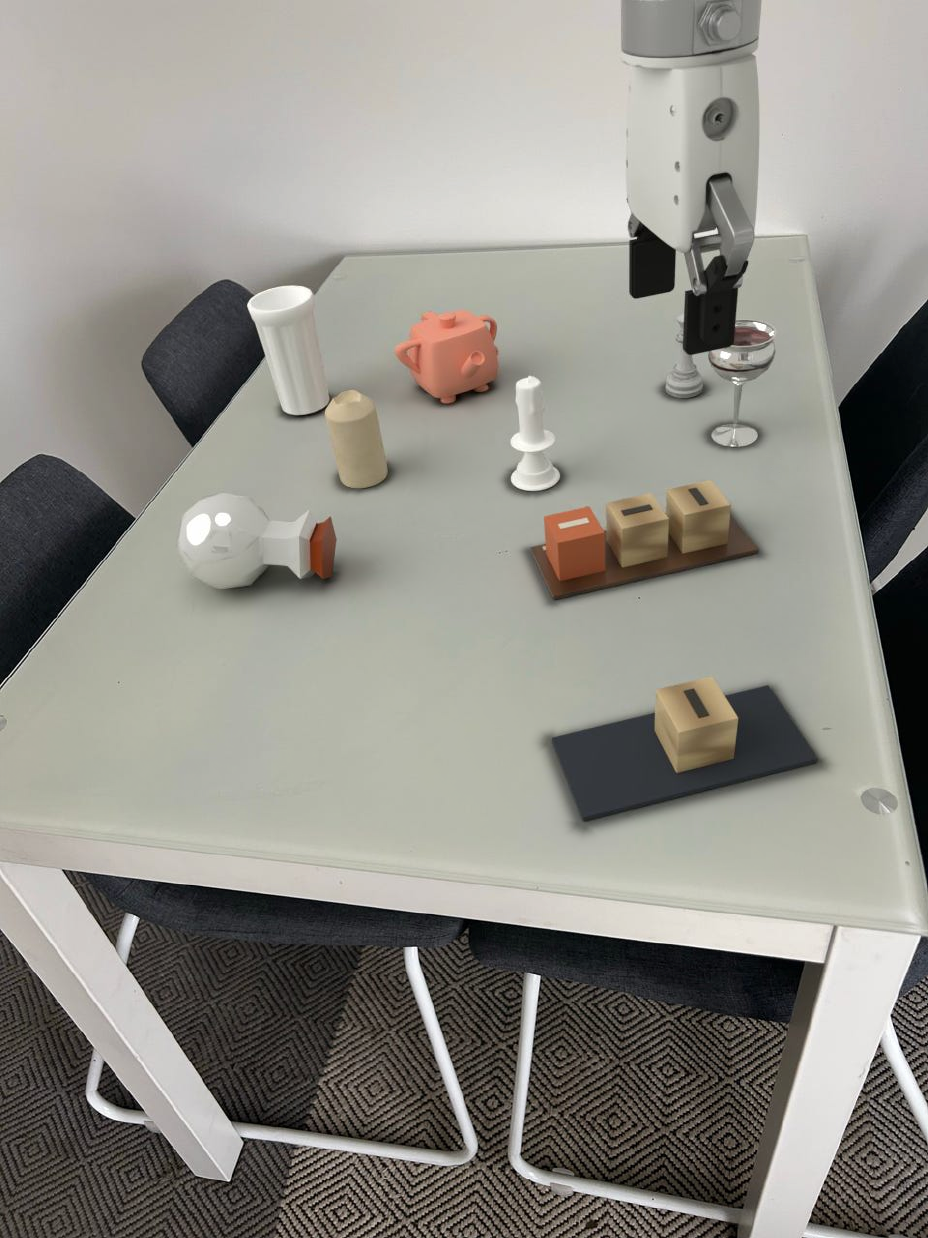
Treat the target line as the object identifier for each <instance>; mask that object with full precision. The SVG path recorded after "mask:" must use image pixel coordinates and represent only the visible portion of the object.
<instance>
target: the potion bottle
mask: <svg viewBox="0 0 928 1238" xmlns="http://www.w3.org/2000/svg"><path fill="white" fill-rule="evenodd" d="M332 519H333V518H332V516H329V517H328V518H326V519H325V520H324V521H323V522H318V521H317V520H316V517H315V516H314V514H313V512H312V510H311V509H308V510H307V511H305V513H303V514H302V515H301V516H299V517H298V518H297V519H296V520H294V521H282V520H281V521H280V520H270V518H269V516H267V514H266V512H265V511H264V510H263V508H262V507H261V506H260V505H259V504H258V503H257V502H256V501H255V500H254V499H253V498H252V497H249V496H246V495H241V494H237V493H230V492H221V493H216V494H209V495H205V496H202V497H201V498H200V499H199V500H198V501H197V502H196V503H194V505H192V506H191V507H190V508H189V509H187V510H186V512H184V513H183V514H182V515H181V516H180V521H179V527H178V532H177V538H176V544H175V548H176V549H177V551H178V553H179V555H180V557H181V559H182V561H183V563H184V565H185V567H186V568H187V570H188V572H189V573H190V575H191V576H192V577H194V578H195V579H196V580H198V581H199V582H200V583H202V584H203V585H207V586H209V587H212V588H215V589H218V590H224V589H233V588H240V587H248V586H252V585H253V584H254V582H256V580H257V579H258V578H259V577H260V576H261V575H262V573H264V572H265V571H266V570H267V569H268V568H269V566H271V565H273V566H285V567H286V566H287V567H288V568H289V569H290V570H291V571H292V572H293V574H295V576H296V577H297V578H298V579H300V580H302V579H306V578H312V577H313V575H314V574H315V573H316V574H317V575H318V576H319V577H320V578H321V579H329V578H332V577H333V570H334V563H335V554H336V548H337V540H338V539H337V535H336V531H335V527H334V523H333V520H332Z"/></svg>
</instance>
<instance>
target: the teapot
mask: <svg viewBox="0 0 928 1238" xmlns="http://www.w3.org/2000/svg"><path fill="white" fill-rule="evenodd" d="M420 317H421V319H420V320H421V321H420V322H418V323H415V324H413V325H412V326H411V327H410V330H409V339H408V340H406V341H404V342H401V343H399V344H397V346H395V349H394V354H395V357H396V358H397V360H398V361H399V362H400V363H401V364H403V366H405V367H407V368H408V369H409V371H410V374H411V376H412V378H413V379H414V381H415V382H416V383H417V384H418V385H419V386H420V387H421V388H422V389H423V390H425V392H427V393H428V394H429V395H431V396H432V397H433V398H436V399H440V403H443V404H450V403H451V404H452V403H454V402H455V401H456V399H457V397H456V396H457V395H459V394H463V393H465V392H469V391H471V390H473V391H474V392H477V393H478V392H479V393H482V392H486V391H488V389H489V385H488V383H490V382H493V381H494V380H496V379H497V376H498V372H499V359H498V356H499V349H498V347H497V346H496V344H495V343H494V342H495V339H496V336H497V331H498V324H497V321H496V320H495V319H494V318H493V317H491V316H489V315H486V314H482V315H478V316H476V315H474V313H472V312H469V311H468V310H466V309H460V310H455V311H445V312H443V313H440V314H436V312H433V311H432V310H431V311H427V312H424V313H421V314H420ZM486 322H487V323H489V326H488V325H487V323H486Z"/></svg>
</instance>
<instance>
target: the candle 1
mask: <svg viewBox="0 0 928 1238" xmlns="http://www.w3.org/2000/svg"><path fill="white" fill-rule="evenodd" d="M324 415H325V421H326V424H327V428H328V433H329V438H330V442H331V446H332V450H333V454H334V459H335V463H336V467H337V471H338V475H339V480H340V481H341V483H342V484H343V485H344V486H346V487H348V488H352V489H365V488H370V487H374V486H376V485H378V484H380V483H381V482H383V481H384V480H385V479H386V478H387V476H388V473H389V472H388V463H387V459H386V454H385V448H384V443H383V442H384V441H383V437H382V433H381V427H380V423H379V417H378V412H377V407H376V403H375V401H374V400H373V399H372V398H370V397H368V396H367V395H365V394H362V393H361V392H360V391H358V390H356V389H349V390H345V391H342V392H339V394H338V395H337V396H334V397H332V399H331V401H329V403H328V404H327V407H326V408H325V410H324Z"/></svg>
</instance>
